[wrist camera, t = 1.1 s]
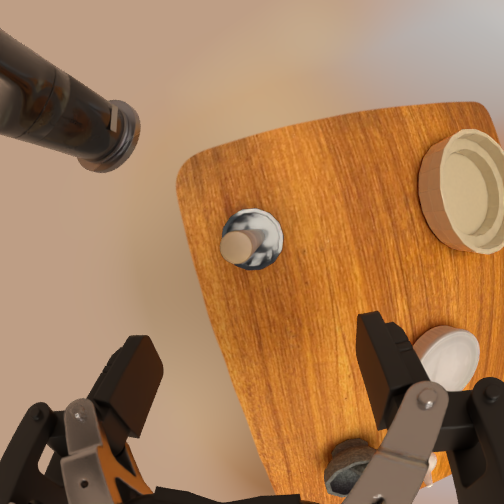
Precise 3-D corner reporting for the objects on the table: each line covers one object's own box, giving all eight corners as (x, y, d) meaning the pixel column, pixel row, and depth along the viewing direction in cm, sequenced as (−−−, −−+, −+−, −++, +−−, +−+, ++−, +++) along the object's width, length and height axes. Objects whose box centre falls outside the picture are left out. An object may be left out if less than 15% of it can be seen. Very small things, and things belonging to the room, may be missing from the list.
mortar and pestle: (358, 470, 35) (372, 519, 23) (311, 466, 35) (316, 520, 23) (393, 426, 33) (418, 475, 21) (343, 419, 34) (360, 477, 22)
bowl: (396, 167, 30) (417, 156, 24) (463, 126, 29) (486, 114, 23) (445, 271, 31) (470, 278, 25) (504, 217, 29) (529, 217, 23)
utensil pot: (223, 229, 33) (209, 229, 26) (265, 203, 32) (263, 196, 25) (248, 270, 33) (241, 281, 26) (291, 245, 32) (295, 249, 25)
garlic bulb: (421, 469, 34) (434, 494, 26) (397, 471, 34) (409, 499, 26) (438, 447, 33) (454, 472, 25) (414, 449, 33) (429, 476, 25)
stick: (246, 234, 32) (213, 242, 15) (259, 226, 32) (241, 224, 15) (254, 247, 32) (230, 270, 15) (267, 239, 32) (258, 253, 15)
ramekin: (387, 350, 32) (402, 368, 27) (450, 302, 31) (470, 312, 26) (411, 400, 33) (425, 419, 27) (467, 357, 31) (484, 371, 26)
